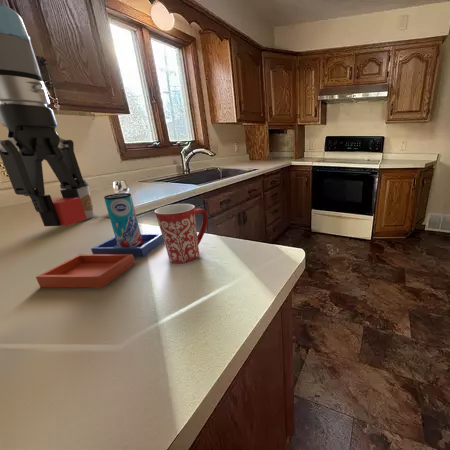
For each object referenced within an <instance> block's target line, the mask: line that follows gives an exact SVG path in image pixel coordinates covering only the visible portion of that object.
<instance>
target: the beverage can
mask: <svg viewBox="0 0 450 450" xmlns="http://www.w3.org/2000/svg"><path fill="white" fill-rule="evenodd" d="M103 199H104V203H105V207H106V210H107V214H108V217H109V220H110V224H111V227H112V230H113V234H114V237H115V238H116V241H117V245H118V247H140V246H141V245H142V244H143V241H142V237H141V234H142V233H141V229H140V225H139V221H138V217H137V213H136V209H135V205H134V201H133V197H132V194H131V193H129V192H128V193H119V194H116V193H112V194H107V195H104V196H103Z"/></svg>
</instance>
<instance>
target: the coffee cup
mask: <svg viewBox="0 0 450 450" xmlns="http://www.w3.org/2000/svg"><path fill="white" fill-rule="evenodd" d="M83 181H84V183H83V184H80V185H81V188H80V189H77V191H78V194H79V197H80V200H81V203H82V206H83V209H84V212H85V215H86V218H87V219H86V220H89V219H92V218H94V217H95V212H94V205H93V201H92V197H91V193H90V188H89V184H88V182H87V180H86V179H84V178H83ZM59 187H60V190H66V189H65V188H63V186H62V185H61V184H59Z"/></svg>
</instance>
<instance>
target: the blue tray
mask: <svg viewBox="0 0 450 450" xmlns="http://www.w3.org/2000/svg"><path fill="white" fill-rule="evenodd" d="M141 237H142V241H143V244H142V245H141V246H140V247H118V245H117V241H116V238H115V236H113V237H111V238H108V239H107V240H105V241H103V242H101V243H99V244H97V245H94V246H93V247H91V248H90V250H91V254H133V258H145V257H146V256H147V255H149V254H150V253H151V252H153V251H155V250H156V249H157V248H159V247H160V246H161V245H163V244H164V240H163V236H162V233H141Z"/></svg>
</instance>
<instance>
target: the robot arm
mask: <svg viewBox="0 0 450 450" xmlns="http://www.w3.org/2000/svg"><path fill="white" fill-rule="evenodd" d="M50 104H51V102H50V99H49V96H48V93H47V90H46V87H45V83H44V80H43V77H42V74H41V70H40V66H39V62H38V60H37V57H36V53H35V50H34V47H33V44H32V41H31V36H30V35H29V34H28V31H27V28H26V26H25V23H24V20H23V18H22V17H21V15H20V14H19V13H18V12H16V10H14V9H13V8H11V7H9V6H7V5H5V4H2V3H0V123H1V126H4V127H5V128H6V129H7V137H6V138H2V139H0V158H1V161H2V164H3V167H4V168H5V171H6V173H7V176H8V178H9V181H10V183H11V186H12V188H13V191H14V193H15V194H16V195H18V196H25V197H29V198H30V200H31V203H32V206H33V208H34V210H35V211H36V212H37V213H39V212H40V214H41V216H40V218H41V217H42V219H43V222H44V224H43V226H44V225H45V226H44V227H61V226H60V225H61V224H60V221H59V218H58V215H57V213H56V210H55V207H54V205H53V202H52V196H51V194H46V191H45V182H44V172H43V171H44V170H43V161H46V162H47V164H48V165H49V167H50V168H51V170H52V172H53V174H54V175H55V177H56V178H57V180H58V181H59V182H58V183H60V185H62V186H63V188H65V189H66V190H62V189H60V190H59V191H60V193H61V196H62V197H61V198H80V197H79V194H78V191H77V189H80V188H81V185H80V184H83V183H84V181H83V179H84V178H83V175H82V173H81V169H80V165H79V163H78V160H77V157H76V153H75V151H74V150H75V149H74V148H75V147H74V146H75V145H74V144H75V143H74V141H73V140H72V139H64V138H62V137H60V135H59V134H58V133H57V131H56V128H57V127H58V123H57V120H56V116H55V113H54V111H53V109H51V107H49V106H48V105H50ZM40 214H39V215H40ZM42 219H41V220H42ZM43 222H42V223H43Z"/></svg>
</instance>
